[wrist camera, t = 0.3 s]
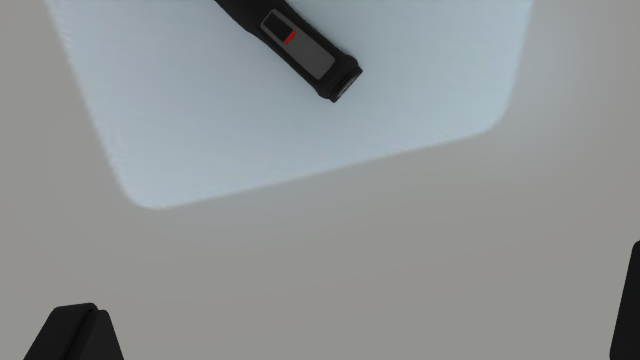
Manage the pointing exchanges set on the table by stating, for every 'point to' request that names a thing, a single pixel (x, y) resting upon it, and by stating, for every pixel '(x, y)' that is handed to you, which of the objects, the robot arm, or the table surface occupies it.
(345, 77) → the electric trimmer
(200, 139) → the table surface
